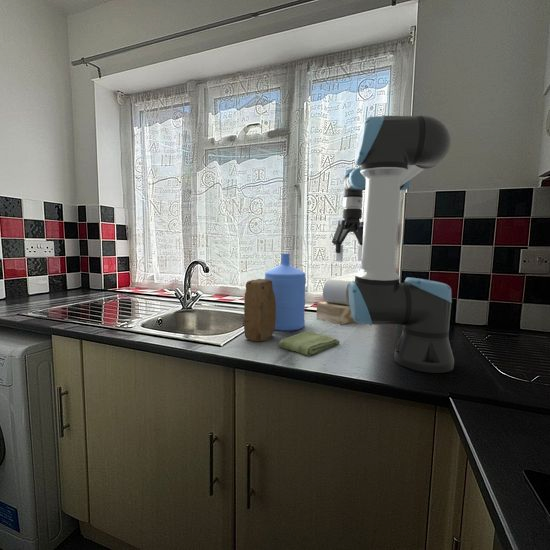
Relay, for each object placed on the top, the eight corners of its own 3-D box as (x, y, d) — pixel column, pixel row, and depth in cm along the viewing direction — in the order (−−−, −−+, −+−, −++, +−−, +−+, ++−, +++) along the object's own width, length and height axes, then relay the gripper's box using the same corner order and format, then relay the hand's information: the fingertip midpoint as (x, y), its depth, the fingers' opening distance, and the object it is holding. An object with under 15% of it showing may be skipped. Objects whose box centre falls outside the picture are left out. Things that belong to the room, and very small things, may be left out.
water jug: (311, 329, 125) (313, 254, 122) (272, 333, 119) (274, 254, 116) (294, 319, 139) (295, 252, 136) (258, 322, 134) (259, 252, 131)
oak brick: (339, 325, 133) (339, 308, 132) (316, 318, 144) (317, 302, 143) (360, 321, 141) (361, 304, 140) (337, 315, 151) (337, 299, 150)
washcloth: (341, 345, 109) (341, 335, 108) (309, 358, 96) (309, 348, 95) (308, 336, 117) (308, 327, 117) (275, 348, 104) (275, 338, 104)
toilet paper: (354, 303, 143) (355, 280, 142) (345, 307, 134) (346, 282, 133) (332, 300, 148) (333, 278, 147) (322, 304, 140) (323, 280, 139)
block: (259, 344, 107) (259, 282, 105) (241, 339, 111) (241, 280, 109) (278, 336, 116) (279, 279, 113) (261, 332, 120) (261, 277, 118)
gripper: (338, 205, 125) (336, 262, 127) (378, 210, 140) (376, 261, 142) (324, 207, 131) (322, 261, 133) (364, 211, 146) (362, 260, 148)
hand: (350, 261), depth 137 cm, fingers open, 13 cm apart
